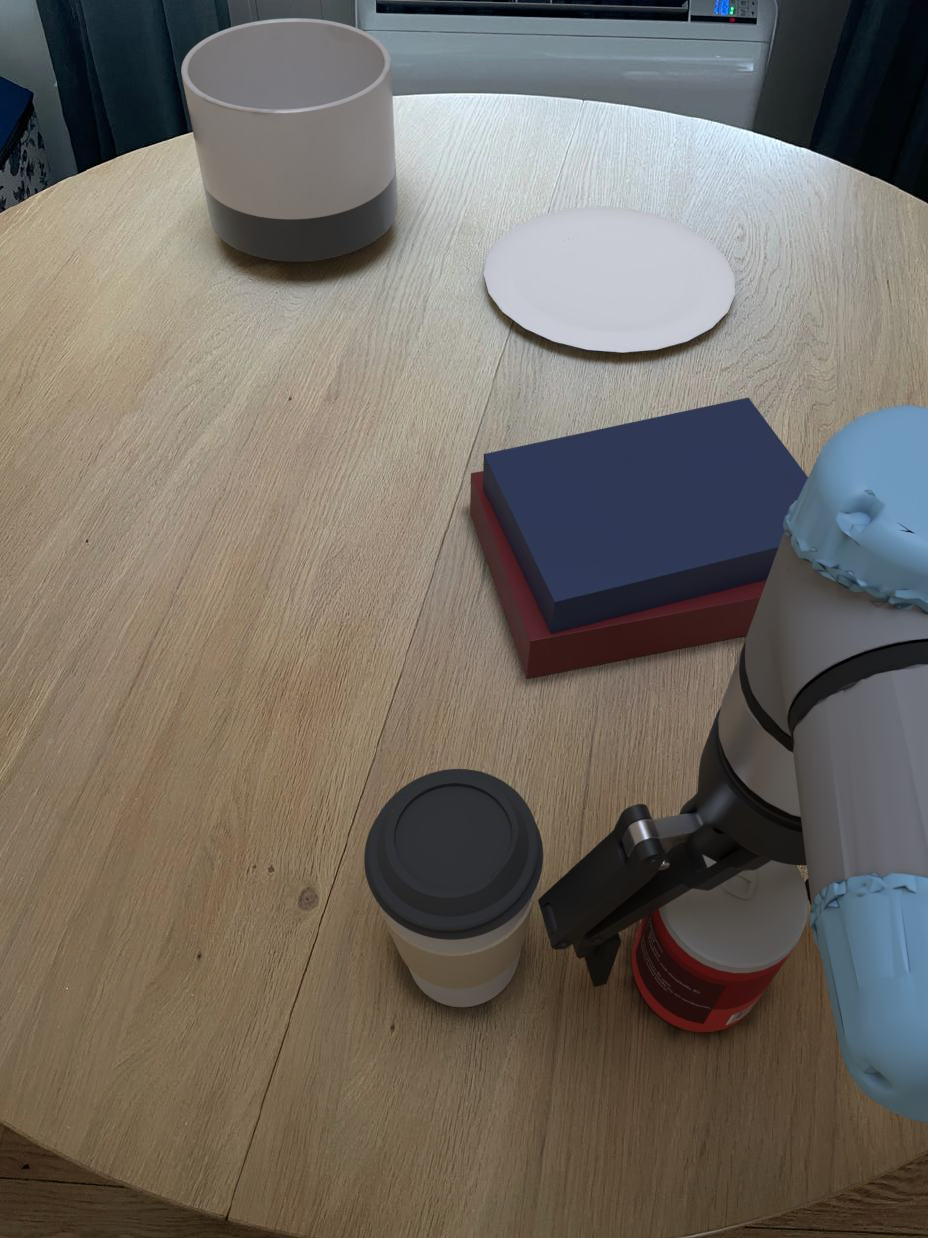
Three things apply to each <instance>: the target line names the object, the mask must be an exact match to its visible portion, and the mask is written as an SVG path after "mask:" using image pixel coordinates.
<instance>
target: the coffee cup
mask: <svg viewBox="0 0 928 1238" xmlns="http://www.w3.org/2000/svg"><path fill="white" fill-rule="evenodd" d="M384 804H385V805H384V806H382V809H381V810H380V811H379V813H378V815H377V816H376V818H375V819H374V821H373V822H372V825H371V827H370V829H369V832H368V835H367V838H366V841H365V846H364V852H363V854H364V855H363V863H364V865H363V866H364V873H365V878H366V881H367V882H366V883H367V884H368V888H369V889H370V892H371V894H372V896H373V898H374V899H375V901H376V903H377V907H378V910H379V911H380V914H381V916H382V918H383V920H384V922H385V924H386V927H387V929H388V931H389V934H390V936H391V939H392V940H393V942H394V944H395V946H396V947H395V948H396V949H397V952H398V953H399V956H400V957H401V959H402V961H403V962H404V964H405V965H406V966H407V967H408V970H409V972H410V975H411V977H412V979H413V980H414V982H415V984H416V985H417V987H418V988H419V989H420V990H421V991H422V992H423V993H424V994H425V995H426V996H428V998H430V999H431V1000H432V1001H435V1002H437V1003H439V1004H442V1005H445V1006H449V1007H453V1008H469V1007H475V1006H479V1005H481V1004H484V1003H486V1002H488V1001H491V1000H492V999H494V998H495V997H497V996H498V995H500V993H501V992H503V990H505V988H507V986H508V985H509V983H510V982H511V981H512V979H513V977H514V975H515V973H516V971H517V969H518V965H519V962H520V956H521V952H522V948H523V945H524V942H525V939H526V937H527V932H528V927H529V924H530V920H531V916H532V911H533V907H534V903H535V898H536V896H537V895H536V894H537V890H538V884H539V882H540V878H541V875H542V871H543V865H544V845H543V841H542V835H541V832H540V830H539V827H538V825H537V822H536V820H535V817H534V815H533V812H532V811H531V809H530V807H529V805H528V804H527V802H526V801H525V799H524V798H523V797H522V796H521V795H520V794H519V792H518V791H517V790H515V789H514V788H513V787H512V786H511V785H509V784H508V783H507V782H506V781H504V780H502V779H500V778H498V777H497V776H495V775H492V774H489V773H486V772H483V771H479V770H475V769H467V768H449V769H448V768H447V769H442V770H437V771H434V772H430V773H427V774H424V775H422V776H420V777H418V778H416V779H414V780H412V781H410V782H408V783H407V784H405V785H404V786H403V787H402V788H399V790H398V791H397V792H395V794H393V795H392V796H391V797H390V798H389V799H388V800H387V801H386V803H384Z"/></svg>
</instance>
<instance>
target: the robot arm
mask: <svg viewBox="0 0 928 1238" xmlns="http://www.w3.org/2000/svg"><path fill="white" fill-rule="evenodd" d="M807 477H808V479H807V481H806V483H805V485H804V487H803V489H802V491H801V493H800V495H799V497H798V500H796V501H794V503H793V504H792V505H791V506H790V507H789V510H788V512H787V515H786V516H785V519H784V522H783V528H784V530H785V531H784V534H783V537H782V539H781V542H780V545H779V548H778V550H777V553H776V556H775V559H774V562H773V564H772V567H771V570H770V573H769V576H768V578H767V581H766V584H765V587H764V589H763V592H762V595H761V598H760V601H759V603H758V606H757V609H756V612H755V614H754V617H753V620H752V623H751V626H750V628H749V631H748V634H747V636H746V637H745V640H744V642H743V645H742V647H741V649H740V653H739V655H738V657H737V660H736V662H735V665H734V668H733V670H732V674H731V676H730V678H729V681H728V684H727V687H726V689H725V692H724V695H723V698H722V700H721V705H720V707H719V709H718V710H717V712H716V715H715V717H714V720H713V722H712V725H711V728H710V731H709V733H708V736H707V738H706V741H705V744H704V746H703V748H702V753H701V755H700V760H699V766H698V777H697V789H696V791H697V792H696V793H695V794H694V796H693V797H691V798H690V799H689V800H687V802H685V803H684V804H683V805H682V807H681V808H680V811H679V814H675V815H670V816H664V817H659V818H658V817H657V818H653V817H652V815H651V812H650V810H649V808H648V805H646V804H644V803H637V804H633V805H630V806H629V807H627V808H625V809H624V810H623V811H622V812H621V814H620V815H619V818H618V820H617V821H616V824H615V826H614V828H613V830H612V831H611V832H610V833H609V834H608V835H606V836H605V837H604V838H603V839H602V840H601V841H600V842H599V843H598V844H597V845H596V846H594V847H593V848H592V849H591V850H590V851H589V852H587V854H586V855H584V857H582V858H581V860H579V861H578V862H577V863H575V865H573V867H572V868H570V869H569V870H568V871H567V872H566V873H565V874H564V875H563V876H562V877H561V878H560V879H558V881H557V882H556V883H554V884H553V885H552V886H551V887H550V888H549V889H548V890H547V891H545V892H544V894H542V895H541V896H540V897H539V898H538V900H537V904H538V906H539V909H540V914H541V916H542V920H543V923H544V927H545V931H546V933H547V937H548V939H549V943H550V947H551V949H553V950H556V951H558V950H565V949H567V948H569V947H571V946H573V951H574V953H575V957H576V958H577V959H578V960H582V959H584V962H585V965H586V968H587V971H588V975H589V978H590V980H591V984H592V987H593V988H596V987H601V986H604V985H607V984H608V981H609V980H610V979H609V978H610V976H611V973H612V970H613V967H614V964H615V961H616V958H617V956H618V953H619V951H620V947H621V944H622V939H621V935H620V933H621V932H622V931H624V930H626V929H628V928H630V927H631V926H632V925H634V924H636V923H637V922H639V921H642V919H643V918H644V917H646V916H648V915H649V914H651V913H653V912H654V911H656V910H658V909H659V908H661V907H663V906H664V905H666V904H668V903H669V902H671V901H673V900H674V899H676V898H678V897H679V896H681V895H683V894H684V893H686V892H688V891H689V890H691V889H699V890H706V891H709V890H712V889H713V888H715V887H717V886H718V885H720V884H722V883H724V882H725V881H727V880H729V879H730V878H732V877H734V876H735V875H737V874H739V873H740V872H742V871H744V870H751V871H753V870H756V869H758V868H760V867H762V866H763V865H765V864H767V863H768V862H770V861H771V860H772V861H776V862H779V863H784V864H790V865H796V866H806V870H807V871H806V872H807V878H806V880H805V881H804V883H805V885H806V891H807V896H808V903H809V904H810V910H809V914H808V915H809V916H808V917H809V918H808V919H809V928H810V930H812V931H813V941H814V943H815V946H816V947H817V949H818V950H819V954H820V958H821V964H822V969H823V973H824V978H825V984H826V987H827V992H828V997H829V1002H830V1006H831V1011H832V1016H833V1021H834V1027H835V1031H836V1036H837V1040H838V1045H839V1051H840V1055H841V1059H842V1061H843V1063H844V1066H845V1068H846V1070H847V1073H848V1074H849V1076H850V1078H851V1080H852V1081H853V1082H854V1083H855V1085H856V1086H857V1088H859V1089H860V1091H861V1092H862V1093H863V1094H864V1095H865V1096H866V1097H868V1098H869V1099H870V1100H872V1101H873V1102H874V1103H876V1104H877V1105H879V1106H881V1107H882V1108H885V1109H886V1110H888V1111H890V1112H892V1113H894V1114H896V1115H898V1116H901V1117H903V1118H906V1119H910V1120H912V1121H913V1120H914V1121H916V1122H917V1121H918V1122H920V1123H924V1124H928V407H926V406H918V405H914V404H903V405H897V406H889V407H884V408H881V409H877V410H874V411H870V412H867V413H865V414H864V415H861V416H859V417H856V418H855V419H853V420H852V421H850V422H848V423H847V424H846V425H844V426H842V427H841V428H839V430H837V431H836V432H835V433H834V434H833V435H832V436H830V438H829V439H828V440H827V441H826V442H825V444H824V445H823V447H822V449H820V451H819V453H818V455H817V457H816V459H815V461H814V464H813V465H812V468H811V470H810V472H809V475H808V476H807ZM702 854H703V855H704V856H706V857H708V858H710V859H712V860H714V861H715V862H716V863H715V864H713V865H711V866H710V867H707V865H706V862H705V860H704V857H703V855H702Z"/></svg>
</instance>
